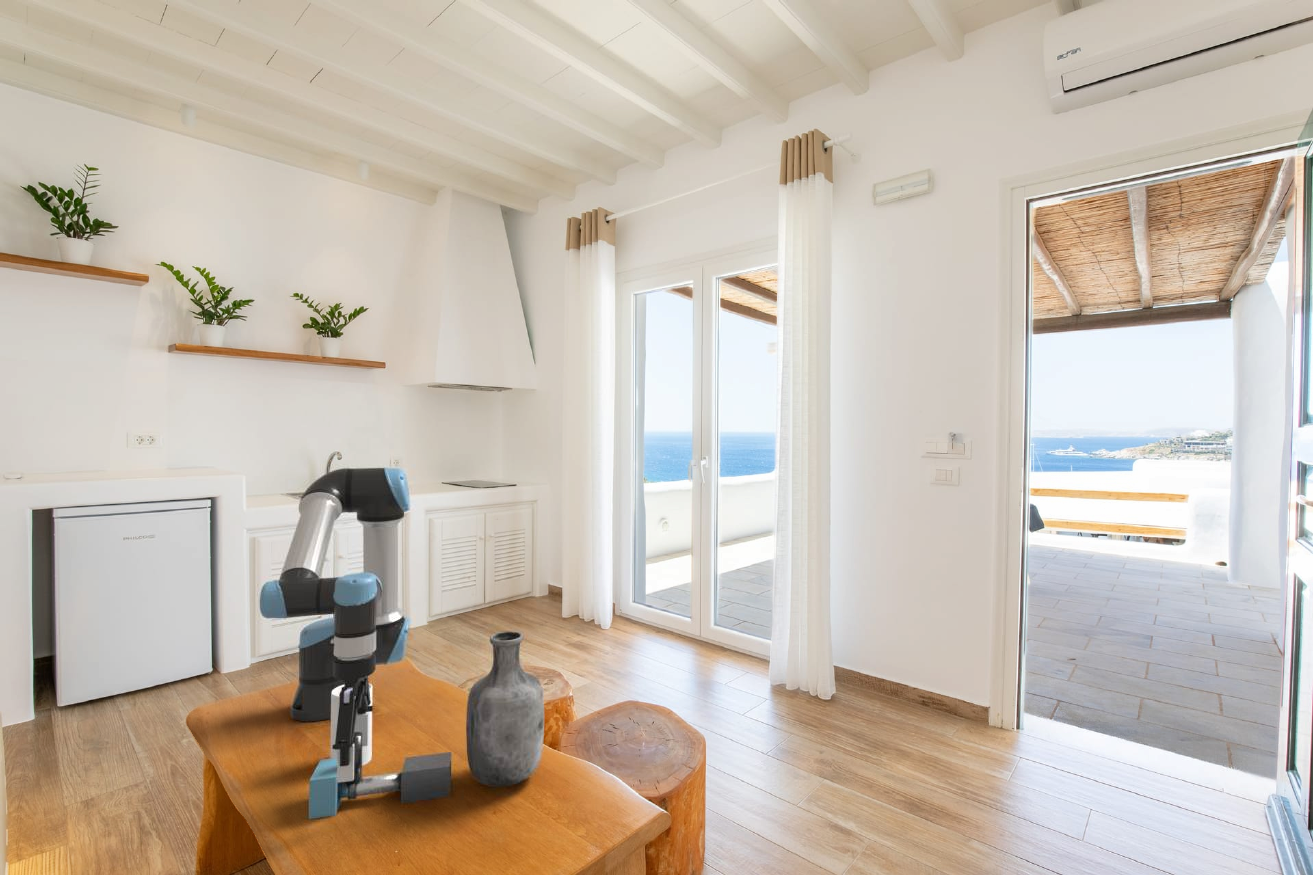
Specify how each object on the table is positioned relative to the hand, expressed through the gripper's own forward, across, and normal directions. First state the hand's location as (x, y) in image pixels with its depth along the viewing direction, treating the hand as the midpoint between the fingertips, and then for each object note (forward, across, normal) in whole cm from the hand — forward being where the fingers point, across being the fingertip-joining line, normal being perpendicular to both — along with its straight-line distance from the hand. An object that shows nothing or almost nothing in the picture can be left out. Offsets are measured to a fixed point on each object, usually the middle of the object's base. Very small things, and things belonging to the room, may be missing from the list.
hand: (353, 762), depth 119 cm
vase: (+8, -1, +29) cm, 30 cm away
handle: (+7, 0, +3) cm, 8 cm away
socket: (+8, 0, -5) cm, 9 cm away
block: (+8, 0, +14) cm, 16 cm away
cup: (+8, -17, -4) cm, 19 cm away
